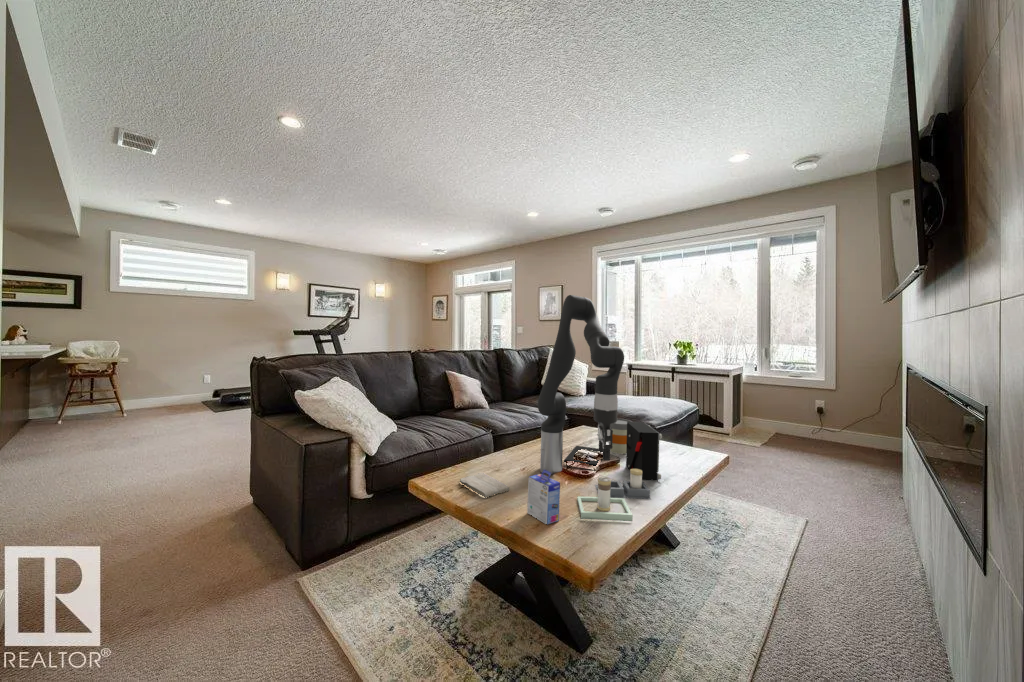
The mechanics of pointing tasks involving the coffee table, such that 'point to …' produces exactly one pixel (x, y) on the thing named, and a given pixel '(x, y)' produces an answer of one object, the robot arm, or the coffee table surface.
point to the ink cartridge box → (543, 498)
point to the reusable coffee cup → (619, 436)
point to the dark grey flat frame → (570, 458)
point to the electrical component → (643, 450)
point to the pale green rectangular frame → (605, 515)
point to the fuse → (604, 493)
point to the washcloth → (484, 484)
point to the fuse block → (630, 487)
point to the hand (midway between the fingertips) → (604, 455)
